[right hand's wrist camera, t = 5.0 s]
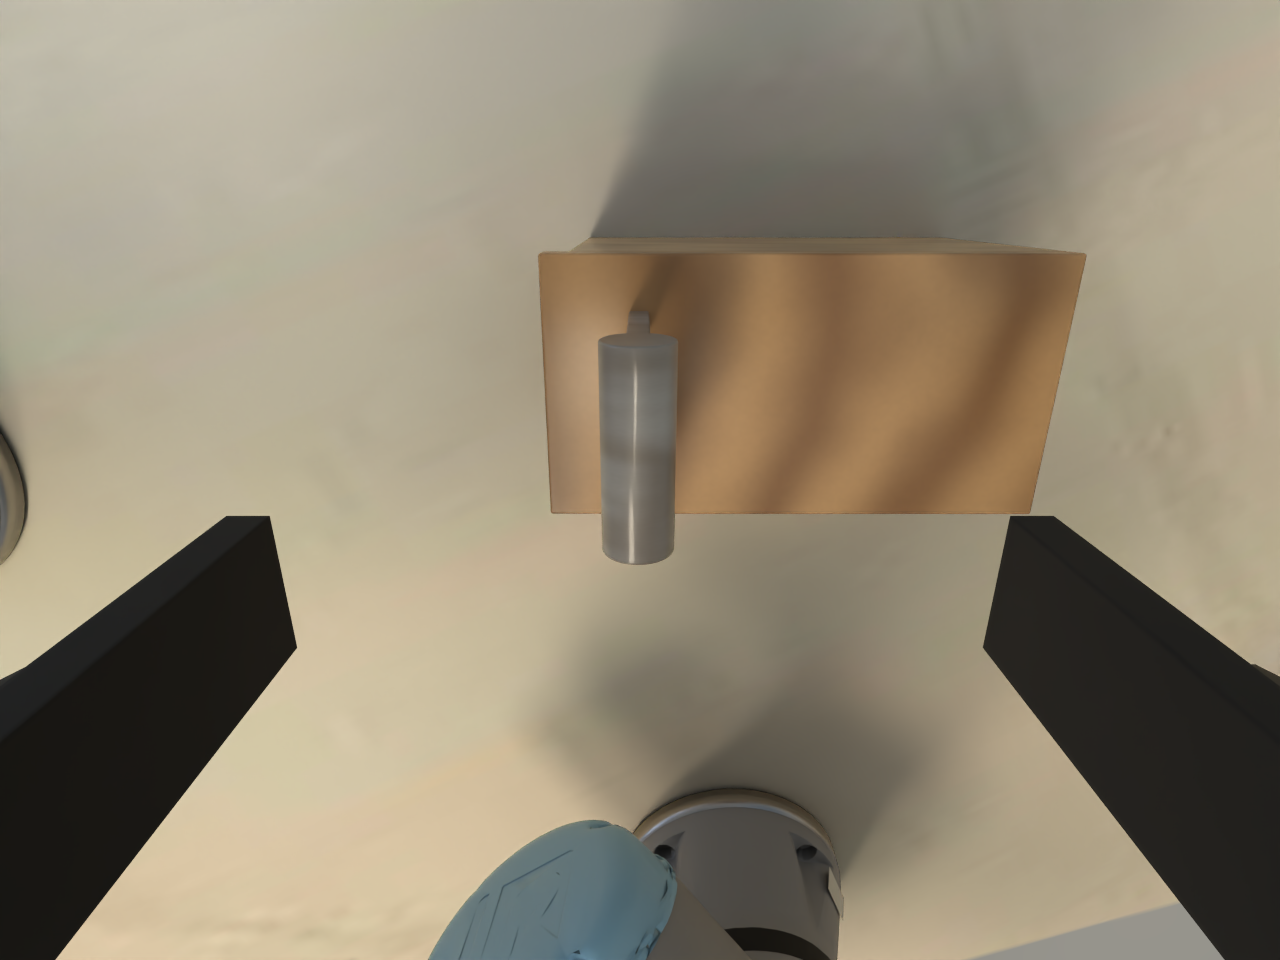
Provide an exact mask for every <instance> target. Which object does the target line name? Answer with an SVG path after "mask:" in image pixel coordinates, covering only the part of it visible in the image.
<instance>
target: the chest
mask: <svg viewBox="0 0 1280 960" xmlns="http://www.w3.org/2000/svg"><path fill="white" fill-rule="evenodd" d="M569 252H1066V251H1058V250H1049V249H1040V248H1031V247H1022V246H1012V245H1003V244H994V243H985V242H976V241H967V240H958V239H949V238H588V240H586V241H584V242H583V243H581V244H580V245H578V246H577V247H575V248H574V249H572V250H571V251H569Z"/></svg>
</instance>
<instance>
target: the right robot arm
mask: <svg viewBox="0 0 1280 960" xmlns="http://www.w3.org/2000/svg"><path fill="white" fill-rule="evenodd" d="M24 507H25V504H24V492H23V487H22V481H21V478H20V474H19V471H18V468H17V465H16V463H15V460H14V458H13V455H12V453H11V451H10V449H9V447H8V445H7V443H6V442H5V440H4V438H3V437H2V435H1V433H0V565H1V564H2V563H3V562H4V561H5V560H6V558H7V557H8V556H9V555H10V553H11V552H12V550H13V549H14V547H15V545H16V543H17V541H18V539H19V536H20V533H21V530H22V526H23V520H24ZM296 648H297V645H296V640H295V635H294V630H293V626H292V621H291V616H290V611H289V607H288V602H287V597H286V592H285V587H284V583H283V578H282V573H281V568H280V563H279V559H278V554H277V549H276V544H275V540H274V535H273V530H272V525H271V520H270V516H226V517H224V518H223V519H222V520H220V521H219V522H218V523H216V524H215V525H214V526H212V527H211V528H210V529H209V530H207V531H206V532H205V533H203V534H202V535H201V536H199V537H198V538H197V539H195V540H194V541H193V542H191V543H190V544H189V545H187V546H186V547H185V548H183V549H182V550H181V551H179V552H178V553H177V554H175V555H174V556H173V557H171V558H170V559H169V560H167V561H166V562H165V563H163V564H162V565H161V566H159V567H158V568H157V569H155V570H154V571H153V572H151V573H150V574H149V575H147V576H146V577H145V578H143V579H142V580H141V581H139V582H138V583H137V584H135V585H134V586H133V587H131V588H130V589H129V590H127V591H126V592H125V593H123V594H122V595H121V596H119V597H118V598H117V599H115V600H114V601H113V602H111V603H110V604H109V605H107V606H106V607H105V608H103V609H102V610H101V611H100V612H98V613H97V614H96V615H94V616H93V617H92V618H90V619H89V620H88V621H86V622H85V623H84V624H82V625H81V626H80V627H78V628H77V629H76V630H74V631H73V632H72V633H70V634H69V635H68V636H66V637H65V638H64V639H62V640H61V641H60V642H58V643H57V644H56V645H54V646H53V647H52V648H50V649H49V650H48V651H46V652H45V653H44V654H42V655H41V656H40V657H38V658H37V659H36V660H34V661H33V662H32V663H30V664H29V665H28V666H26V667H25V668H23V669H21V670H19V671H17V672H15V673H13V674H11V675H9V676H7V677H5V678H3V679H1V680H0V960H55V959H56V958H57V957H58V956H59V954H60V953H61V952H62V950H63V949H64V948H65V947H66V945H67V944H68V943H69V941H70V940H71V939H72V938H73V936H74V935H75V934H76V932H77V931H78V930H79V929H80V927H81V926H82V925H83V923H84V922H85V921H86V919H87V918H88V917H89V916H90V914H91V913H92V912H93V910H94V909H95V908H96V907H97V905H98V904H99V903H100V901H101V900H102V899H103V898H104V896H105V895H106V894H107V892H108V891H109V890H110V888H111V887H112V886H113V885H114V883H115V882H116V881H117V879H118V878H119V877H120V876H121V874H122V873H123V872H124V870H125V869H126V868H127V867H128V865H129V864H130V863H131V861H132V860H133V859H134V858H135V856H136V855H137V854H138V852H139V851H140V850H141V848H142V847H143V846H144V845H145V843H146V842H147V841H148V839H149V838H150V837H151V836H152V834H153V833H154V832H155V830H156V829H157V828H158V827H159V825H160V824H161V823H162V821H163V820H164V819H165V817H166V816H167V815H168V814H169V812H170V811H171V810H172V808H173V807H174V806H175V805H176V803H177V802H178V801H179V799H180V798H181V797H182V796H183V794H184V793H185V792H186V790H187V789H188V788H189V786H190V785H191V784H192V783H193V781H194V780H195V779H196V777H197V776H198V775H199V774H200V772H201V771H202V770H203V768H204V767H205V766H206V765H207V763H208V762H209V761H210V759H211V758H212V757H213V756H214V754H215V753H216V752H217V750H218V749H219V748H220V746H221V745H222V744H223V743H224V741H225V740H226V739H227V737H228V736H229V735H230V734H231V732H232V731H233V730H234V728H235V727H236V726H237V725H238V723H239V722H240V721H241V719H242V718H243V717H244V715H245V714H246V713H247V712H248V710H249V709H250V708H251V706H252V705H253V704H254V703H255V701H256V700H257V699H258V697H259V696H260V695H261V694H262V692H263V691H264V690H265V688H266V687H267V686H268V685H269V683H270V682H271V681H272V679H273V678H274V677H275V675H276V674H277V673H278V672H279V670H280V669H281V668H282V666H283V665H284V664H285V663H286V661H287V660H288V659H289V657H290V656H291V655H292V654H293V652H294V651H295V650H296ZM983 648H984V650H985V651H986V652H987V654H988V655H989V656H990V657H991V659H992V660H993V661H994V663H995V664H996V665H997V666H998V668H999V669H1000V670H1001V672H1002V673H1003V674H1004V675H1005V677H1006V678H1007V679H1008V681H1009V682H1010V683H1011V685H1012V686H1013V687H1014V688H1015V690H1016V691H1017V692H1018V694H1019V695H1020V696H1021V697H1022V699H1023V700H1024V701H1025V703H1026V704H1027V705H1028V706H1029V708H1030V709H1031V710H1032V712H1033V713H1034V714H1035V715H1036V717H1037V718H1038V719H1039V721H1040V722H1041V723H1042V725H1043V726H1044V727H1045V728H1046V730H1047V731H1048V732H1049V734H1050V735H1051V736H1052V737H1053V739H1054V740H1055V741H1056V743H1057V744H1058V745H1059V746H1060V748H1061V749H1062V750H1063V752H1064V753H1065V754H1066V756H1067V757H1068V758H1069V759H1070V761H1071V762H1072V763H1073V765H1074V766H1075V767H1076V768H1077V770H1078V771H1079V772H1080V774H1081V775H1082V776H1083V777H1084V779H1085V780H1086V781H1087V783H1088V784H1089V785H1090V786H1091V788H1092V789H1093V790H1094V792H1095V793H1096V794H1097V796H1098V797H1099V798H1100V799H1101V801H1102V802H1103V803H1104V805H1105V806H1106V807H1107V808H1108V810H1109V811H1110V812H1111V814H1112V815H1113V816H1114V817H1115V819H1116V820H1117V821H1118V823H1119V824H1120V825H1121V827H1122V828H1123V829H1124V830H1125V832H1126V833H1127V834H1128V836H1129V837H1130V838H1131V839H1132V841H1133V842H1134V843H1135V845H1136V846H1137V847H1138V848H1139V850H1140V851H1141V852H1142V854H1143V855H1144V856H1145V858H1146V859H1147V860H1148V861H1149V863H1150V864H1151V865H1152V867H1153V868H1154V869H1155V870H1156V872H1157V873H1158V874H1159V876H1160V877H1161V878H1162V879H1163V881H1164V882H1165V883H1166V885H1167V886H1168V887H1169V888H1170V890H1171V891H1172V892H1173V894H1174V895H1175V896H1176V898H1177V899H1178V900H1179V901H1180V903H1181V904H1182V905H1183V907H1184V908H1185V909H1186V910H1187V912H1188V913H1189V914H1190V916H1191V917H1192V918H1193V919H1194V921H1195V922H1196V923H1197V925H1198V926H1199V927H1200V929H1201V930H1202V931H1203V932H1204V934H1205V935H1206V936H1207V938H1208V939H1209V940H1210V941H1211V943H1212V944H1213V945H1214V947H1215V948H1216V949H1217V950H1218V952H1219V953H1220V954H1221V956H1222V957H1223V958H1224V959H1225V960H1280V677H1279V676H1277V675H1275V674H1273V673H1271V672H1269V671H1267V670H1265V669H1263V668H1261V667H1259V666H1257V665H1255V664H1250V663H1248V662H1247V661H1246V660H1244V659H1243V658H1242V657H1240V656H1239V655H1238V654H1236V653H1235V652H1234V651H1232V650H1231V649H1230V648H1228V647H1227V646H1226V645H1224V644H1223V643H1222V642H1220V641H1219V640H1218V639H1216V638H1215V637H1214V636H1212V635H1211V634H1210V633H1208V632H1207V631H1206V630H1204V629H1203V628H1202V627H1200V626H1199V625H1198V624H1196V623H1195V622H1194V621H1192V620H1191V619H1190V618H1188V617H1187V616H1186V615H1184V614H1183V613H1182V612H1180V611H1179V610H1178V609H1177V608H1175V607H1174V606H1173V605H1171V604H1170V603H1169V602H1167V601H1166V600H1165V599H1163V598H1162V597H1161V596H1159V595H1158V594H1157V593H1155V592H1154V591H1153V590H1151V589H1150V588H1149V587H1147V586H1146V585H1145V584H1143V583H1142V582H1141V581H1139V580H1138V579H1137V578H1135V577H1134V576H1133V575H1131V574H1130V573H1129V572H1127V571H1126V570H1125V569H1123V568H1122V567H1121V566H1119V565H1118V564H1117V563H1115V562H1114V561H1113V560H1111V559H1110V558H1109V557H1107V556H1106V555H1105V554H1103V553H1102V552H1101V551H1099V550H1098V549H1097V548H1095V547H1094V546H1093V545H1091V544H1090V543H1089V542H1087V541H1086V540H1085V539H1083V538H1082V537H1081V536H1079V535H1078V534H1077V533H1075V532H1074V531H1073V530H1071V529H1070V528H1069V527H1068V526H1066V525H1065V524H1064V523H1062V522H1061V521H1060V520H1058V519H1057V518H1056V517H1054V516H1010V520H1009V525H1008V530H1007V535H1006V540H1005V544H1004V549H1003V554H1002V559H1001V563H1000V568H999V573H998V578H997V583H996V587H995V592H994V597H993V602H992V607H991V611H990V616H989V621H988V626H987V630H986V635H985V640H984V645H983Z"/></svg>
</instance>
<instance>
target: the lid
mask: <svg viewBox="0 0 1280 960" xmlns="http://www.w3.org/2000/svg"><path fill="white" fill-rule="evenodd" d="M1085 260H1086V254H1084V253H1077V252H542V253H540V254H539V255H538V262H539V282H540V302H541V323H542V343H543V363H544V383H545V403H546V423H547V443H548V463H549V483H550V503H551V512H552V513H602V549H603V552H604V553H605V555H606V556H607V557H609V558H610V559H612V560H614V561H617V562H620V563H625V564H633V565H644V564H652V563H656V562H659V561H662V560H664V559H666V558H668V557H669V556H670V555H671V554H672V552H673V550H674V529H675V513H697V514H1029V513H1030V510H1031V506H1032V501H1033V497H1034V492H1035V487H1036V483H1037V478H1038V474H1039V469H1040V465H1041V460H1042V456H1043V451H1044V446H1045V442H1046V437H1047V433H1048V428H1049V424H1050V419H1051V415H1052V410H1053V406H1054V401H1055V396H1056V392H1057V387H1058V383H1059V378H1060V374H1061V369H1062V365H1063V360H1064V356H1065V351H1066V346H1067V342H1068V337H1069V333H1070V328H1071V324H1072V319H1073V315H1074V310H1075V305H1076V301H1077V296H1078V292H1079V287H1080V283H1081V278H1082V274H1083V269H1084V265H1085Z"/></svg>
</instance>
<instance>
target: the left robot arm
mask: <svg viewBox="0 0 1280 960" xmlns="http://www.w3.org/2000/svg"><path fill="white" fill-rule="evenodd" d="M843 908H844V898H843V895H842V893H841V884H840V872H839V867H838V864H837V860H836V857H835V854H834V850H833V847H832V844H831V841H830V839H829V837H828V835H827V833H826V832H825V830H824V829H823V827H822V826H821V825H820V824H819V823H818V821H817V820H816V819H815V818H814V817H812V816H811V815H810V814H809V813H808V812H806V811H805V810H804V809H802V808H801V807H799V806H798V805H796V804H794V803H792V802H790V801H788V800H786V799H784V798H781V797H778V796H776V795H772V794H768V793H765V792H760V791H755V790H746V789H720V790H711V791H706V792H700V793H697V794H693V795H689V796H686V797H684V798H681V799H678V800H676V801H674V802H672V803H670V804H668V805H666V806H664V807H662V808H661V809H659V810H658V811H656V812H655V813H653V814H652V815H651V816H650V817H648V818H647V819H646V820H645V821H644V822H643V823H642V824H641V825H640V826H639V827H638V828H637V830H636V831H635V832H634V833H633V834H632V833H631V832H629V831H628V830H627V829H625V828H623V827H621V826H618V825H613V824H611V823H609V822H606V821H601V820H585V821H579V822H575V823H570V824H567V825H564V826H561V827H559V828H556V829H554V830H552V831H550V832H548V833H546V834H544V835H542V836H540V837H538V838H537V839H535V840H533V841H532V842H530V843H529V844H527V845H525V846H524V847H523V848H521V849H520V850H518V851H517V852H516V853H514V854H513V855H512V856H511V857H509V858H508V859H507V860H506V861H505V862H504V863H502V864H501V865H500V866H499V867H498V868H497V869H496V870H495V871H494V872H493V873H492V874H491V875H490V876H489V877H488V878H487V879H486V880H485V881H484V882H483V883H482V884H481V885H480V887H479V888H478V889H477V890H476V891H475V892H474V893H473V894H472V895H471V896H470V897H469V898H468V900H467V901H466V902H465V903H464V905H463V906H462V907H461V908H460V910H459V911H458V912H457V914H456V915H455V916H454V918H453V919H452V921H451V922H450V923H449V925H448V926H447V928H446V929H445V931H444V933H443V934H442V936H441V937H440V939H439V941H438V942H437V944H436V946H435V948H434V949H433V951H432V953H431V955H430V957H429V959H428V960H837V954H838V936H839V918H840V915H841V917H842V920H843Z"/></svg>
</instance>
